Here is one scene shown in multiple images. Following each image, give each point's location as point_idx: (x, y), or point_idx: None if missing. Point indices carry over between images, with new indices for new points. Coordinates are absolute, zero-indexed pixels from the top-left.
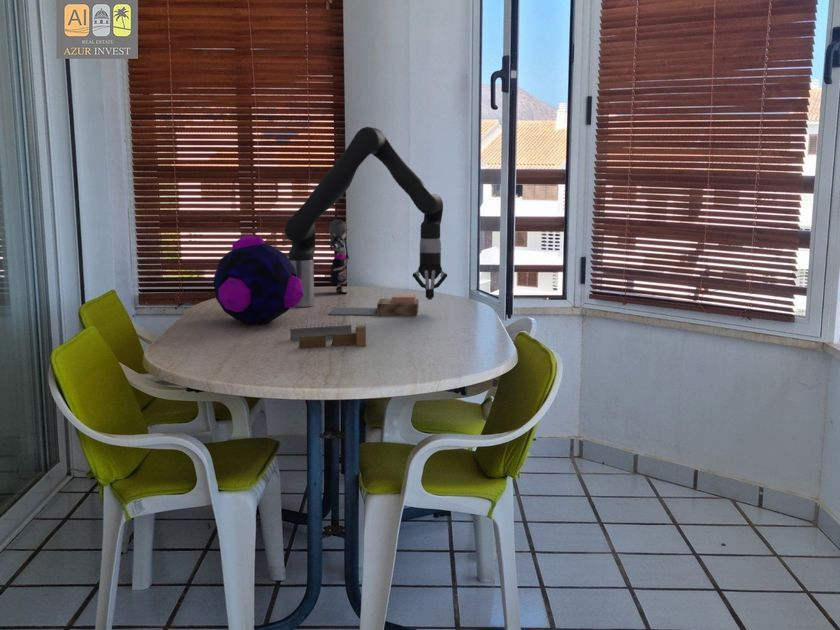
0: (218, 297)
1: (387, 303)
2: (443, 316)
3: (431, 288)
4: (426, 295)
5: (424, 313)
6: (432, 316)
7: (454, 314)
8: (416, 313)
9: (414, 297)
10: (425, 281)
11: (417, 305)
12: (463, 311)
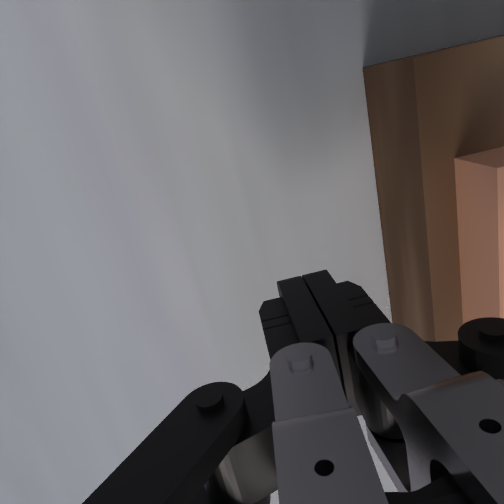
0: None
1: None
2: (100, 103)
3: (309, 349)
4: (356, 294)
5: (317, 211)
6: (205, 70)
7: (39, 243)
8: (375, 66)
9: (498, 166)
10: (490, 379)
11: (408, 182)
12: (23, 400)
